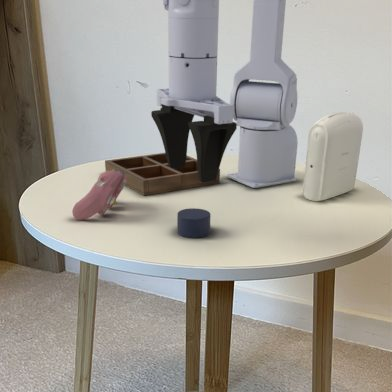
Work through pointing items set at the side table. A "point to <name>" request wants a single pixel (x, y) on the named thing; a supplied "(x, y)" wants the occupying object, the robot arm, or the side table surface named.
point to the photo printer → (332, 156)
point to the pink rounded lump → (100, 195)
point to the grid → (157, 174)
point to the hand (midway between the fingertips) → (191, 173)
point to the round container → (193, 223)
